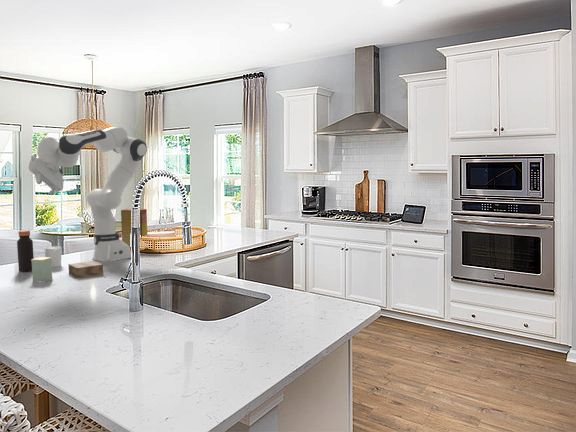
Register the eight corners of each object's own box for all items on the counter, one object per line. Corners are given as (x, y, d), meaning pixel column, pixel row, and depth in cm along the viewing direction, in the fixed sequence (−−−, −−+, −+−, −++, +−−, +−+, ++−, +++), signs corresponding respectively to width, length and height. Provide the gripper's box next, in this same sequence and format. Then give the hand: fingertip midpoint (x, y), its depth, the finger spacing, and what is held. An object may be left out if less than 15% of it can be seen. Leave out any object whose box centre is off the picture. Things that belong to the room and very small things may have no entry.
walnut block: (94, 270, 235) (93, 260, 234) (103, 274, 226) (102, 264, 225) (68, 274, 227) (68, 264, 227) (77, 278, 218) (76, 268, 218)
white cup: (41, 267, 242) (40, 248, 241) (55, 264, 249) (54, 245, 248) (51, 268, 239) (50, 249, 238) (65, 265, 246) (64, 246, 245)
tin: (41, 278, 218) (40, 257, 217) (52, 278, 217) (51, 257, 215) (32, 281, 212) (31, 259, 211) (43, 282, 211) (42, 259, 210)
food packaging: (148, 247, 300) (147, 208, 297) (142, 250, 290) (141, 210, 288) (128, 247, 301) (126, 208, 298) (121, 250, 292) (120, 210, 289)
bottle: (27, 272, 230) (25, 231, 228) (15, 272, 231) (12, 231, 229) (37, 269, 237) (35, 230, 235) (25, 269, 238) (23, 229, 236)
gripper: (38, 150, 215) (36, 173, 208) (66, 175, 233) (65, 197, 225) (25, 154, 216) (23, 178, 208) (54, 179, 233) (53, 201, 226)
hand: (45, 188), depth 217 cm, fingers open, 8 cm apart
